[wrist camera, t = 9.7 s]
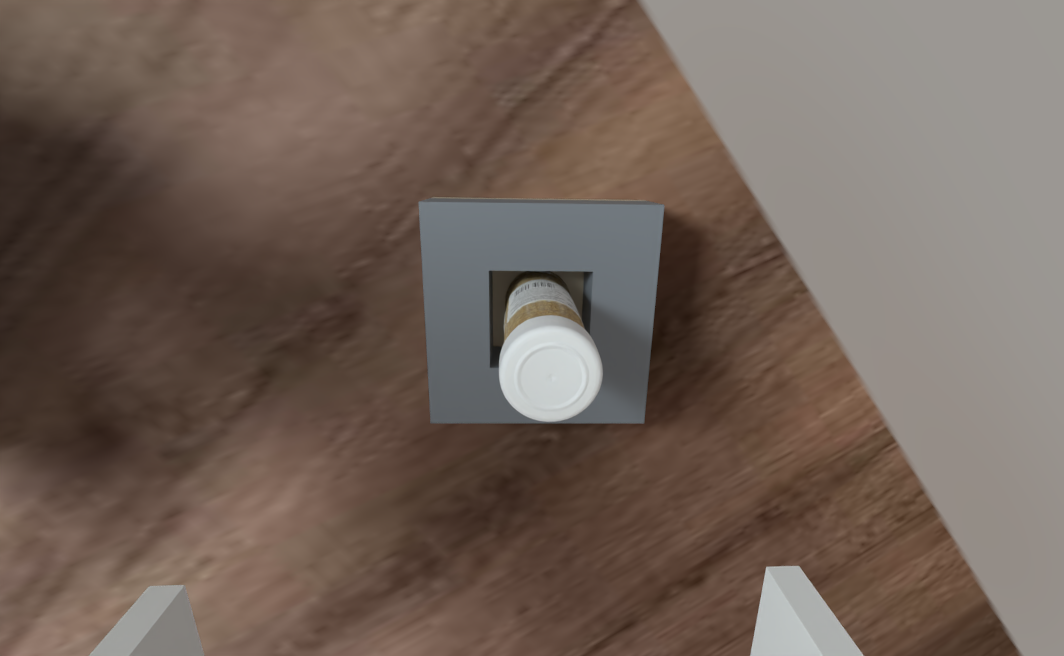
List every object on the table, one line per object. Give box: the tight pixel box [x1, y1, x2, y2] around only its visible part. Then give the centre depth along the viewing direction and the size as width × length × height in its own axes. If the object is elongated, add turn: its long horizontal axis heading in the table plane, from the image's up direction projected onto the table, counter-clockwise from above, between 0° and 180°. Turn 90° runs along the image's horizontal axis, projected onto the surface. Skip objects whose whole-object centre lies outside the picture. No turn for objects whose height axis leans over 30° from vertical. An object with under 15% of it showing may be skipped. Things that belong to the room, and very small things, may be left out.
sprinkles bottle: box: [499, 271, 603, 422], centre depth 27 cm, size 5×5×13 cm
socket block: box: [419, 197, 664, 423], centre depth 32 cm, size 14×14×5 cm
